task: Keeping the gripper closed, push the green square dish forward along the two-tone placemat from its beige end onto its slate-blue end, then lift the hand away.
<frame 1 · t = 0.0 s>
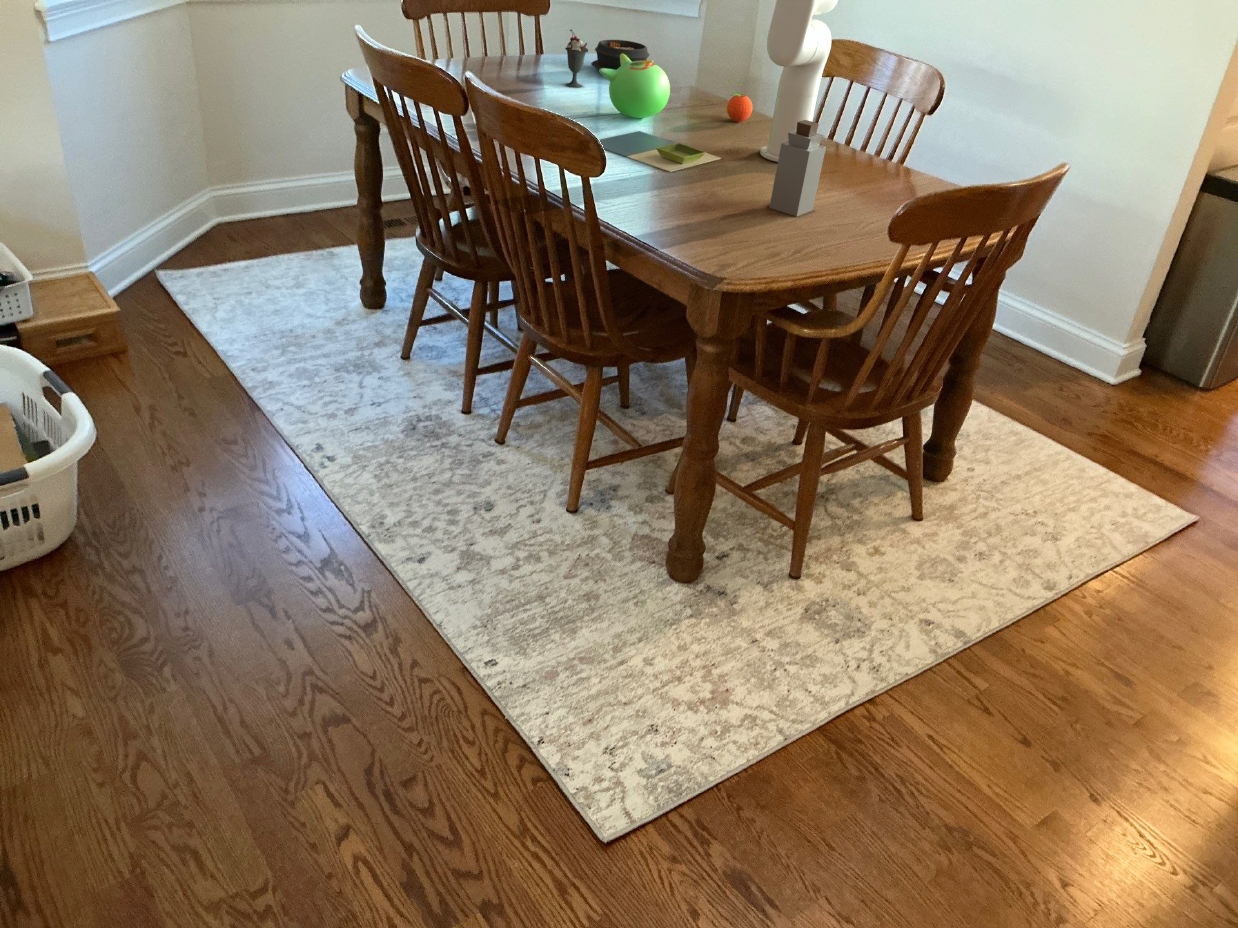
placemat: (653, 151, 237), on the table
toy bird: (634, 117, 263), on the table
casserole: (620, 74, 306), on the table
clementine: (735, 121, 269), on the table
perfume bottle: (790, 210, 209), on the table
sundae: (573, 86, 286), on the table
green square dish: (679, 159, 232), resting on placemat
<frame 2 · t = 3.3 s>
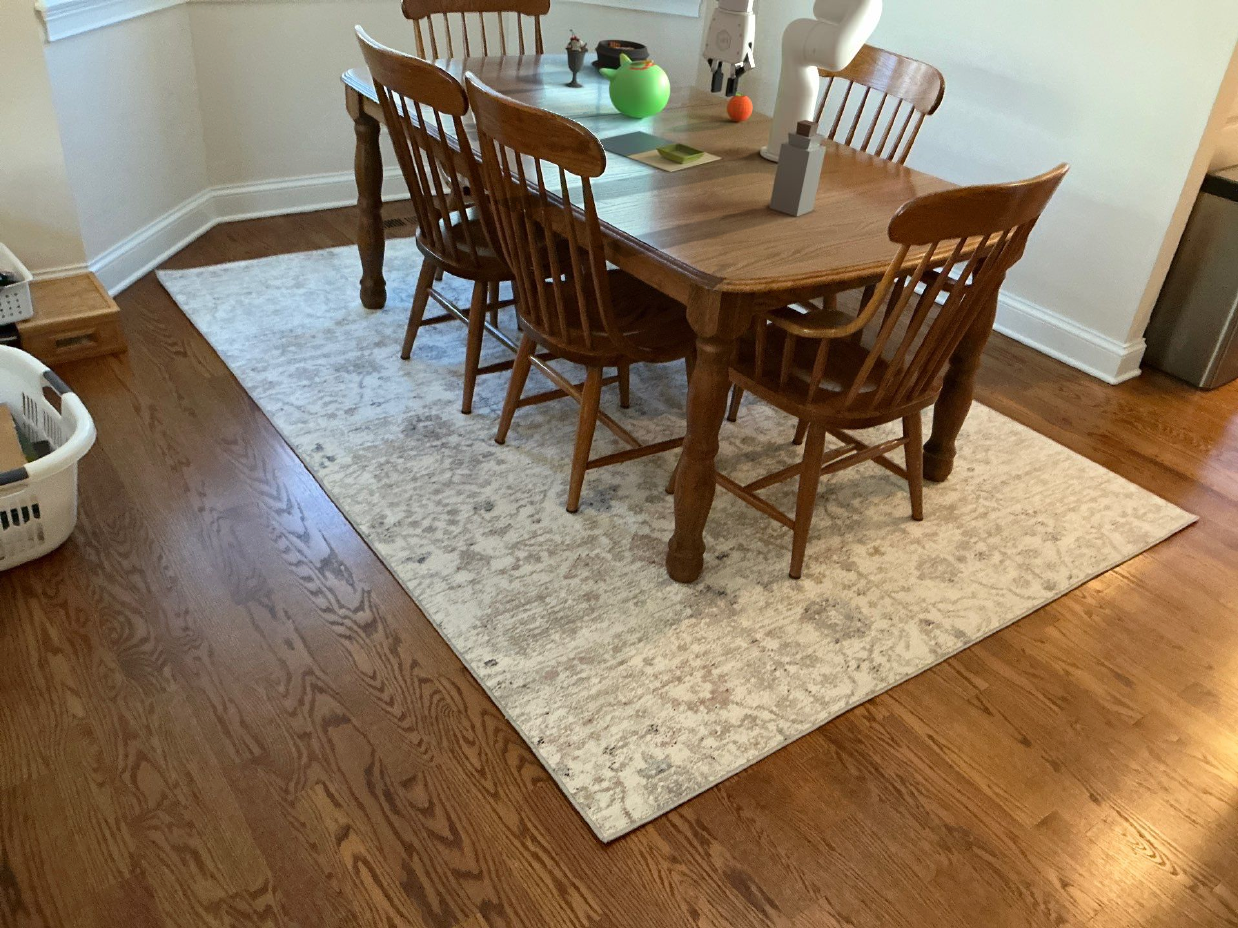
hand: (723, 93, 218), 17 cm above the table, tool pointing down, fingers open, 3 cm apart
nothing on the table moved.
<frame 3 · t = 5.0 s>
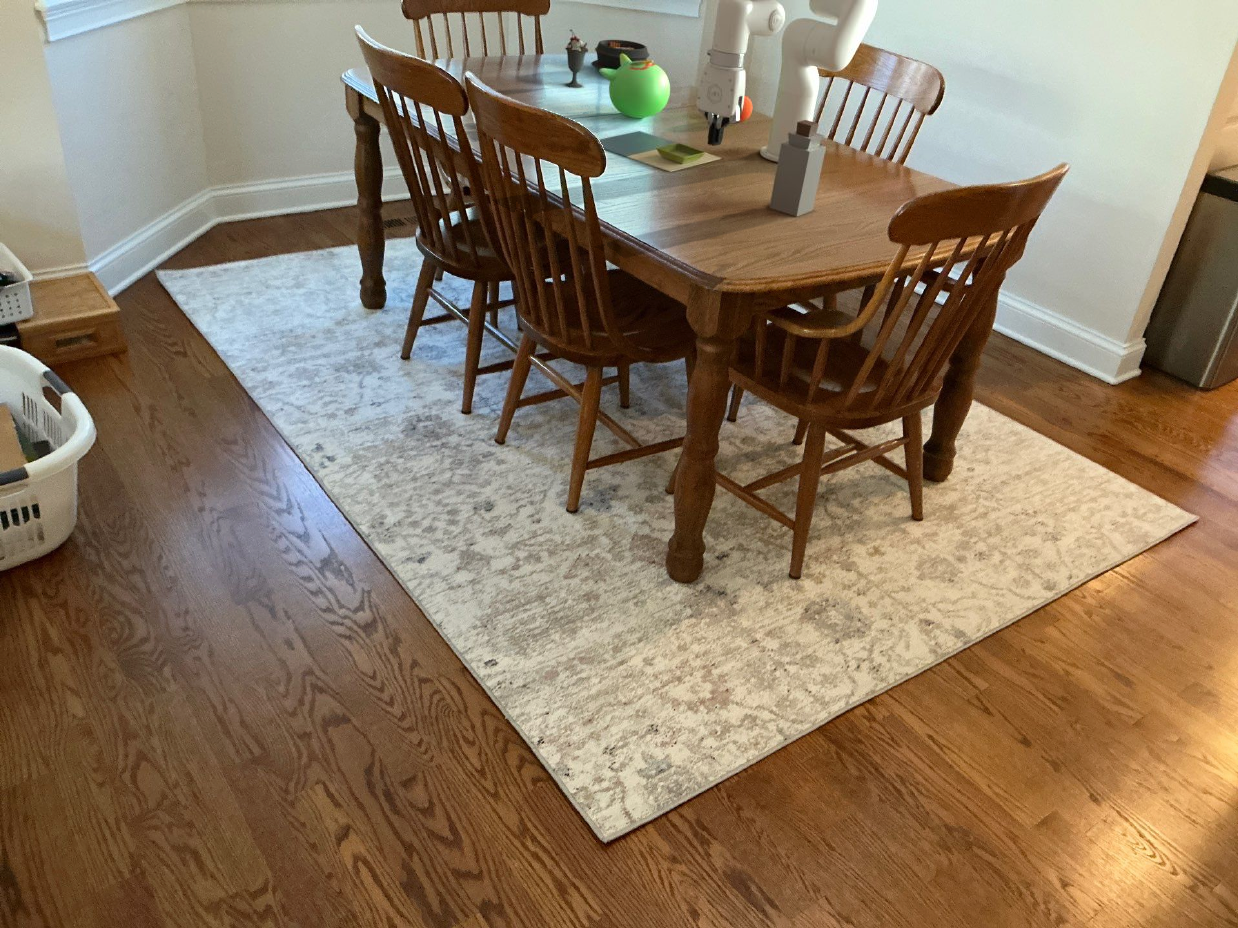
hand: (714, 144, 224), 6 cm above the table, tool pointing down, fingers closed
nothing on the table moved.
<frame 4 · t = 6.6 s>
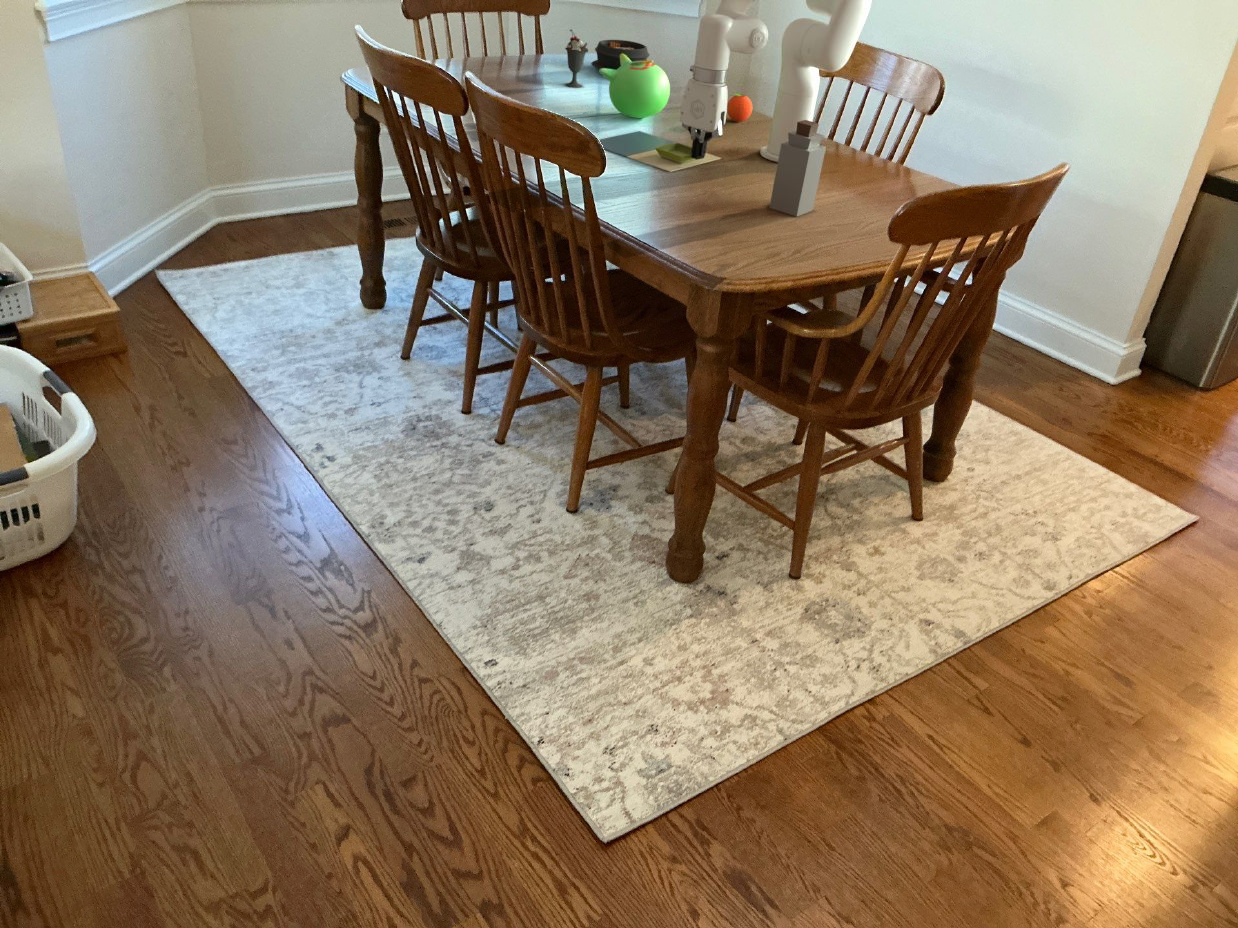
hand: (697, 158, 229), 2 cm above the table, tool pointing down, fingers closed
green square dish: (678, 159, 233), resting on placemat, touching gripper
everything else where it was.
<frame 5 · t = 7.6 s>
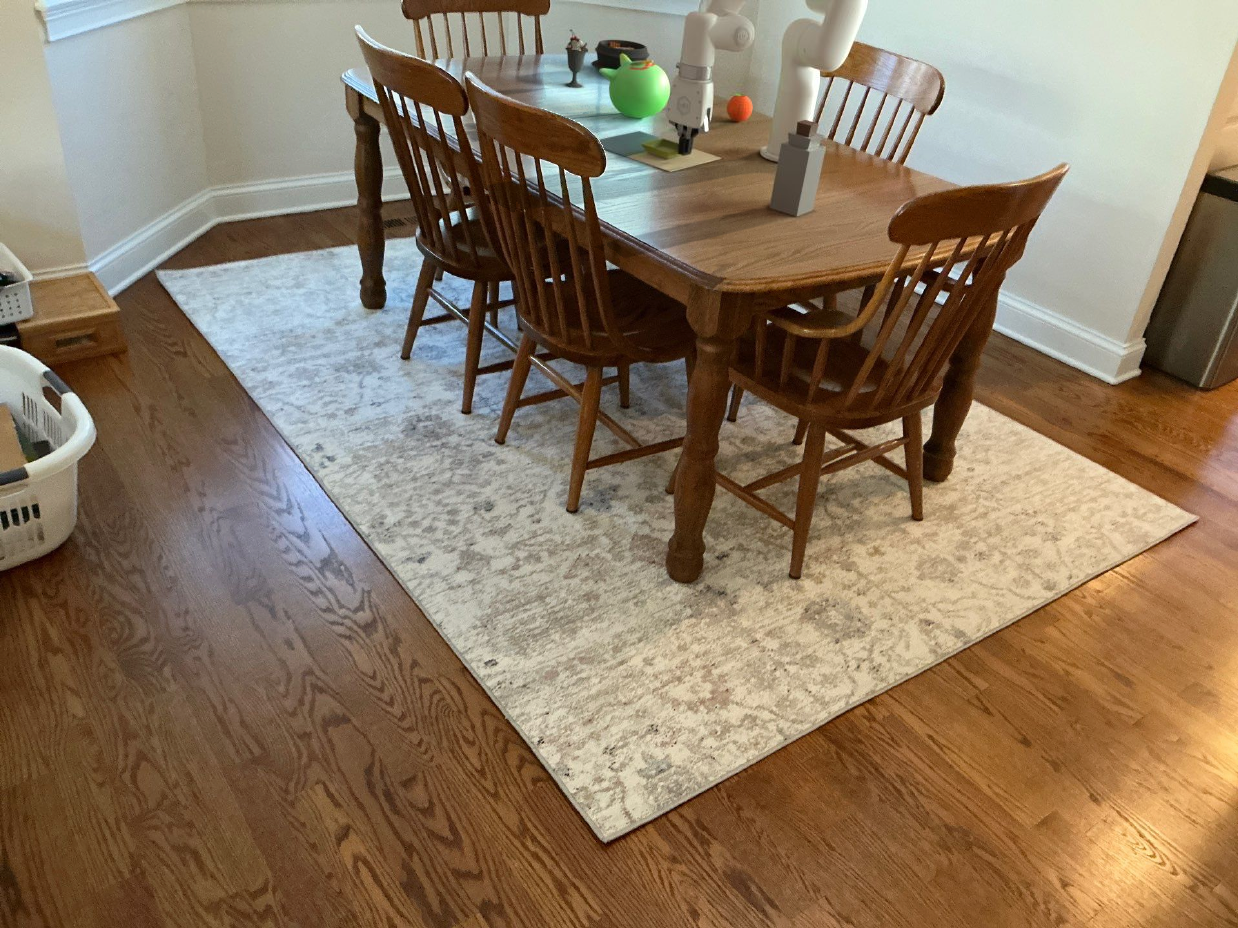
hand: (684, 154, 231), 2 cm above the table, tool pointing down, fingers closed
green square dish: (664, 155, 235), resting on placemat, touching gripper
everything else where it was.
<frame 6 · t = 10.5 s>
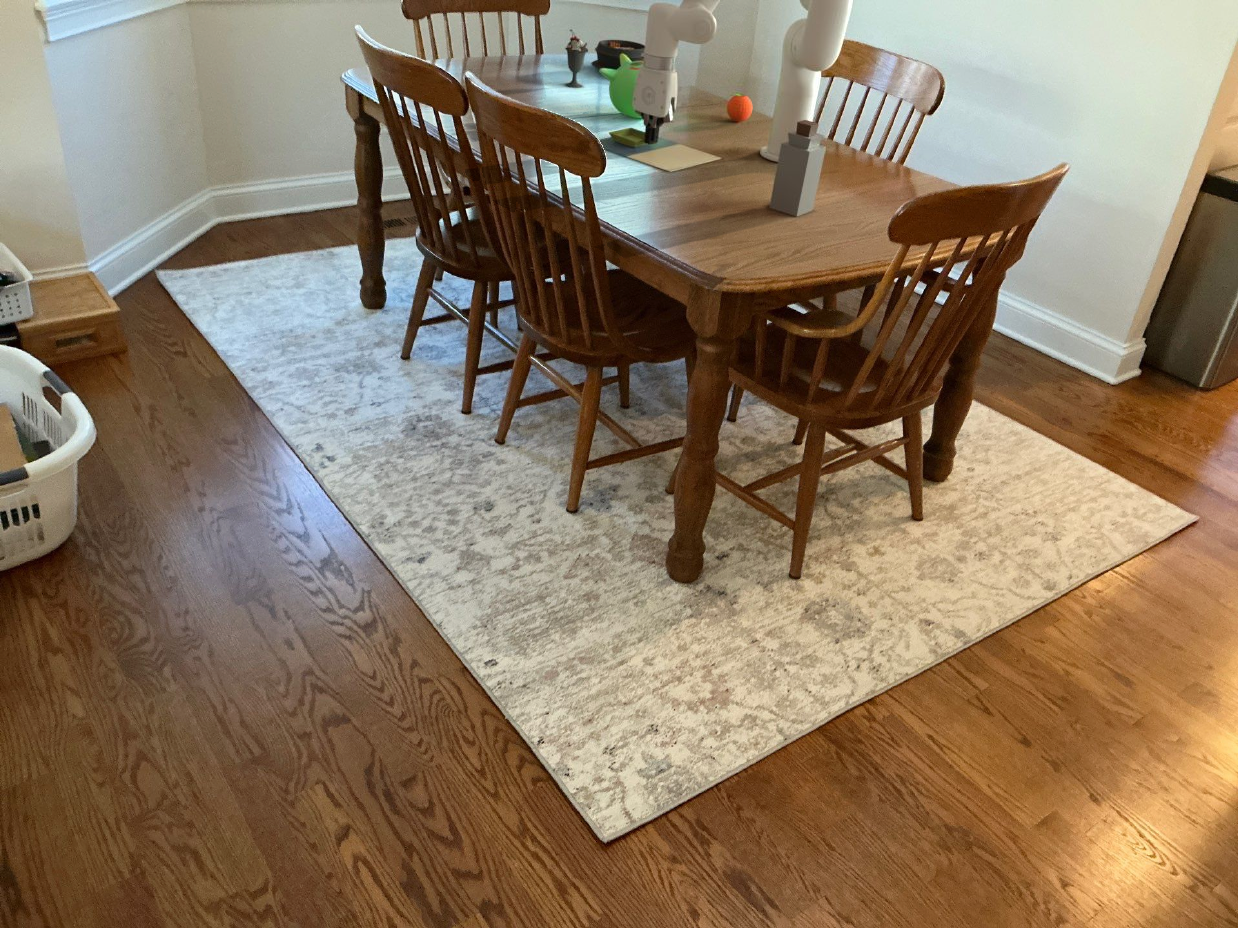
hand: (650, 143, 236), 2 cm above the table, tool pointing down, fingers closed
green square dish: (632, 143, 240), resting on placemat, touching gripper
everything else where it was.
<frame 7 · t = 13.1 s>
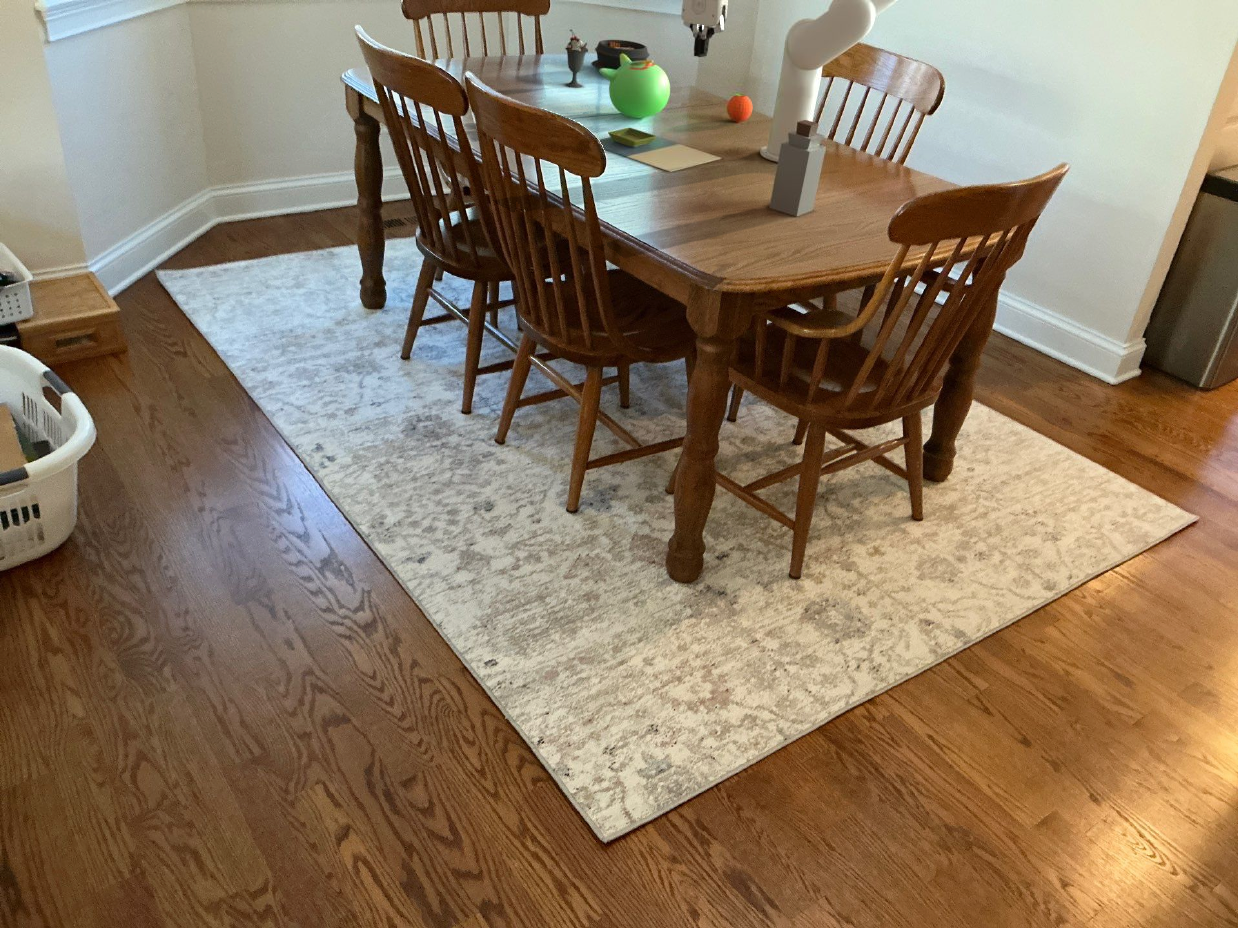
hand: (700, 56, 232), 21 cm above the table, tool pointing down, fingers closed
green square dish: (631, 143, 240), resting on placemat
everything else where it was.
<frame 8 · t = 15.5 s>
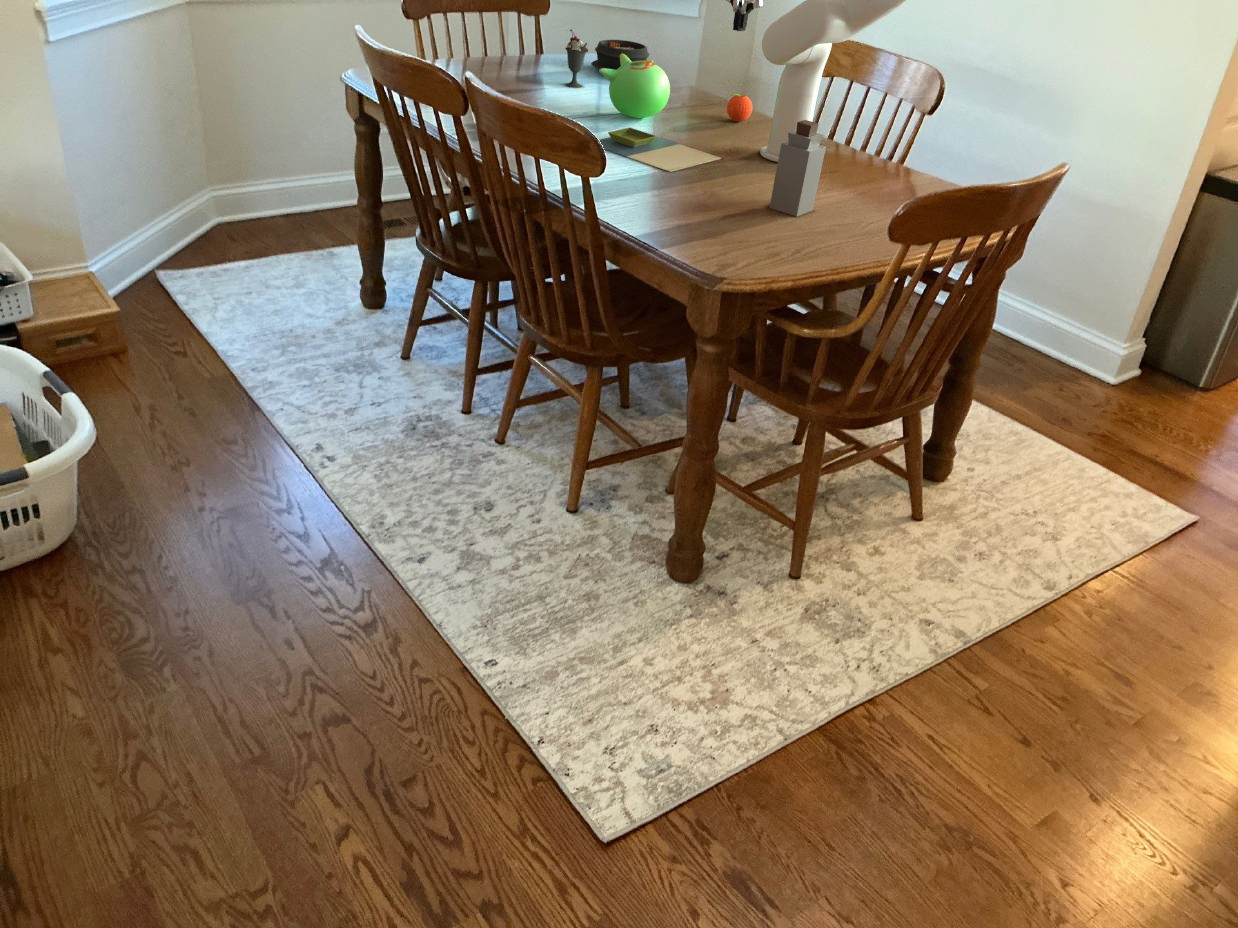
hand: (739, 30, 243), 25 cm above the table, tool pointing down, fingers closed
nothing on the table moved.
at the end: green square dish inside the target area on the placemat (0.3 cm from its centre), point 0.0 cm above the placemat's base; green square dish touching placemat; green square dish tilted 0° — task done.
